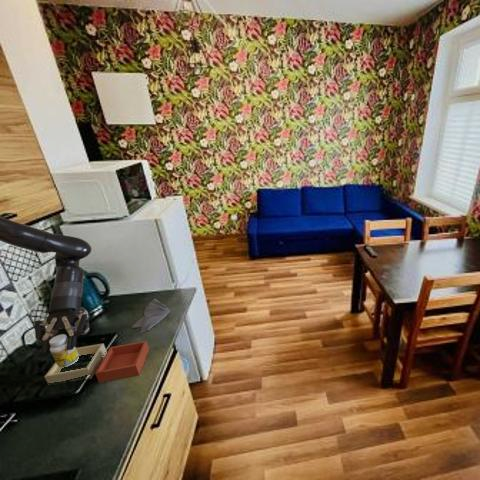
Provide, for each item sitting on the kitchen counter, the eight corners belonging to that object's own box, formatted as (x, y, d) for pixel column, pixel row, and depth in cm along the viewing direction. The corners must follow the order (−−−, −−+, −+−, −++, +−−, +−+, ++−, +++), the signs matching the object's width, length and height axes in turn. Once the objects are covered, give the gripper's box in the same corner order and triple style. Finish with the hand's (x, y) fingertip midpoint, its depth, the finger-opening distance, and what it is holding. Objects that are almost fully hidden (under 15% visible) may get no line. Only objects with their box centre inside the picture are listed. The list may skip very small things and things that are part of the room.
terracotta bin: (99, 383, 95) (94, 373, 93) (113, 356, 106) (110, 347, 104) (139, 375, 98) (136, 365, 96) (149, 349, 109) (146, 340, 107)
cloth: (160, 330, 119) (159, 326, 118) (126, 334, 117) (125, 330, 116) (177, 297, 143) (176, 293, 142) (149, 300, 140) (148, 296, 139)
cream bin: (49, 386, 93) (44, 376, 91) (69, 359, 104) (65, 349, 102) (92, 378, 96) (87, 368, 94) (107, 352, 107) (103, 343, 106)
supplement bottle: (84, 354, 89) (73, 332, 85) (70, 368, 84) (59, 345, 80) (67, 355, 89) (56, 332, 85) (53, 368, 84) (40, 345, 80)
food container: (100, 326, 122) (93, 308, 118) (87, 335, 116) (80, 317, 112) (78, 322, 124) (70, 304, 120) (64, 331, 118) (56, 313, 114)
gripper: (31, 298, 83) (19, 356, 77) (85, 291, 87) (78, 346, 81) (48, 302, 90) (39, 356, 84) (98, 296, 93) (92, 347, 87)
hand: (58, 351), depth 82 cm, fingers closed on supplement bottle, 5 cm apart
